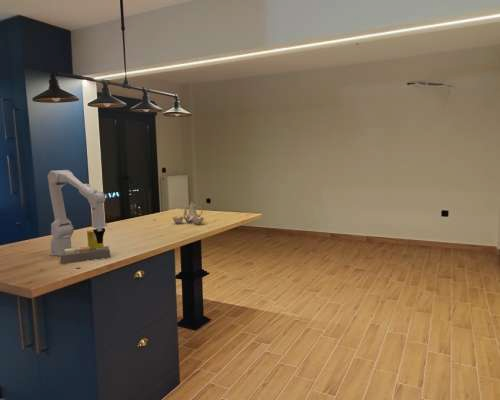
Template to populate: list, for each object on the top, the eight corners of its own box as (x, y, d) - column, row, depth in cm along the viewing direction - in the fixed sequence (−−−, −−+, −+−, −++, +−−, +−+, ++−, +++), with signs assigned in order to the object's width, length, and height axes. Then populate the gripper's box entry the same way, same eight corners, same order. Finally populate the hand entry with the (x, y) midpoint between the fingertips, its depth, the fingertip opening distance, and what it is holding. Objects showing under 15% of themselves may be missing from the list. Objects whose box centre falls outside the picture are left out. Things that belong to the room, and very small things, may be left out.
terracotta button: (80, 253, 190) (80, 247, 190) (90, 252, 192) (89, 246, 191) (80, 255, 186) (80, 249, 186) (90, 254, 188) (90, 248, 187)
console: (61, 259, 189) (61, 250, 189) (108, 253, 198) (108, 245, 198) (61, 264, 180) (60, 255, 180) (110, 257, 189) (109, 249, 188)
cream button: (65, 255, 187) (64, 249, 187) (75, 253, 189) (74, 248, 188) (64, 257, 183) (64, 250, 183) (75, 255, 185) (74, 249, 184)
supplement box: (98, 248, 212) (97, 228, 211) (104, 249, 208) (102, 229, 207) (88, 250, 207) (86, 230, 206) (93, 251, 204) (92, 231, 202)
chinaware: (169, 227, 284) (166, 205, 281) (179, 221, 300) (177, 200, 296) (203, 228, 275) (201, 205, 272) (212, 222, 291) (210, 200, 287)
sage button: (96, 253, 193) (95, 248, 192) (105, 252, 195) (104, 247, 194) (96, 255, 189) (96, 249, 188) (105, 254, 191) (105, 248, 190)
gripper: (107, 217, 185) (109, 245, 186) (105, 214, 198) (107, 239, 199) (92, 218, 182) (94, 246, 183) (91, 215, 195) (92, 241, 196)
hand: (100, 243), depth 191 cm, fingers closed
